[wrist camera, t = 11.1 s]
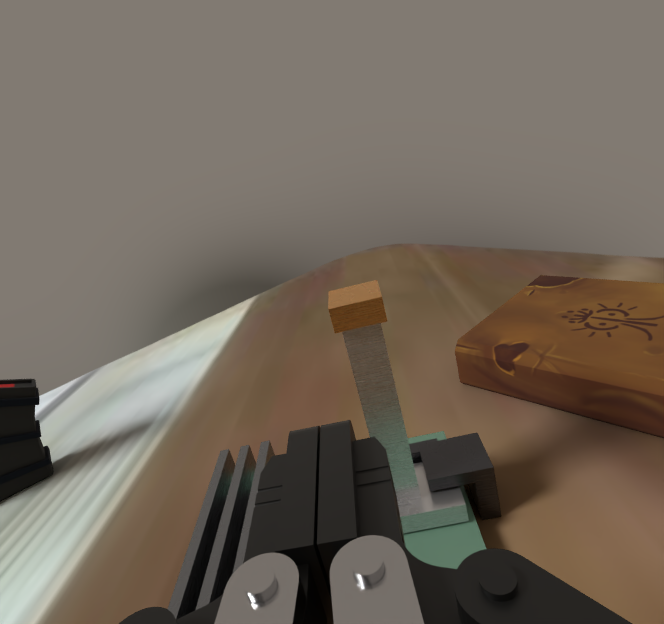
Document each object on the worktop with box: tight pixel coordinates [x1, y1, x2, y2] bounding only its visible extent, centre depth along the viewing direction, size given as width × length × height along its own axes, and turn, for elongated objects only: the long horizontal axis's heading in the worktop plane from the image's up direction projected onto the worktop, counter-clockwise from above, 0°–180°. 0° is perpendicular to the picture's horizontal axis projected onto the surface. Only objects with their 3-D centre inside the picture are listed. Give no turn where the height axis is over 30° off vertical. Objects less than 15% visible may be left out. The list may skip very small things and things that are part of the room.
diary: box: [455, 275, 664, 438], centre depth 48 cm, size 23×19×6 cm
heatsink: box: [168, 433, 501, 620], centre depth 32 cm, size 17×20×7 cm
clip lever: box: [328, 280, 469, 533], centre depth 33 cm, size 5×6×17 cm
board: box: [403, 431, 486, 569], centre depth 34 cm, size 22×20×2 cm
